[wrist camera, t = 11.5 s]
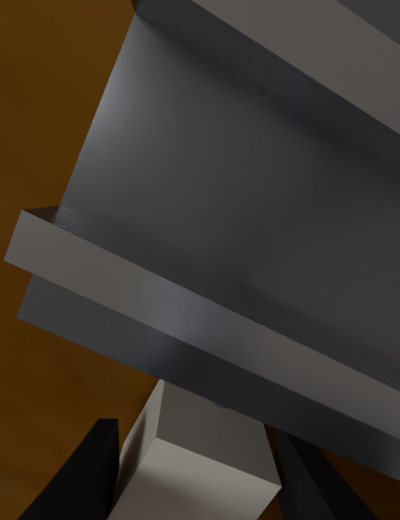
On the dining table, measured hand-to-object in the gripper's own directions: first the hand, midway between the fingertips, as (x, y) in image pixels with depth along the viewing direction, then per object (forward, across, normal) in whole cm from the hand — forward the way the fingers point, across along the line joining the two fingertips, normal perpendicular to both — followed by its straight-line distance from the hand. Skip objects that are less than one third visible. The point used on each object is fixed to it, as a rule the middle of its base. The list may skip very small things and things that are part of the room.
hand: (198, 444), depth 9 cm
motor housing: (+2, -3, -7) cm, 8 cm away
